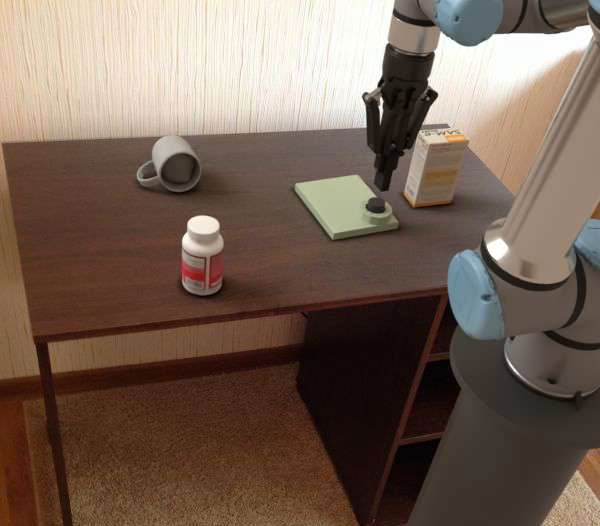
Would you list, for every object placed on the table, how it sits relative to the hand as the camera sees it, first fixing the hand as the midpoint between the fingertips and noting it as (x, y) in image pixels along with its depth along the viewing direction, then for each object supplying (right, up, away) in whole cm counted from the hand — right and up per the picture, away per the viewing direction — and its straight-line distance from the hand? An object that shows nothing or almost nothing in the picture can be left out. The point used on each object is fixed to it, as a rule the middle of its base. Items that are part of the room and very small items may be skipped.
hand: (381, 187), depth 129 cm
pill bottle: (-29, -19, -12) cm, 37 cm away
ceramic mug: (-38, +3, +7) cm, 38 cm away
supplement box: (+10, +1, +13) cm, 16 cm away
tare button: (-1, -3, +4) cm, 5 cm away
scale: (-6, -2, +7) cm, 9 cm away
